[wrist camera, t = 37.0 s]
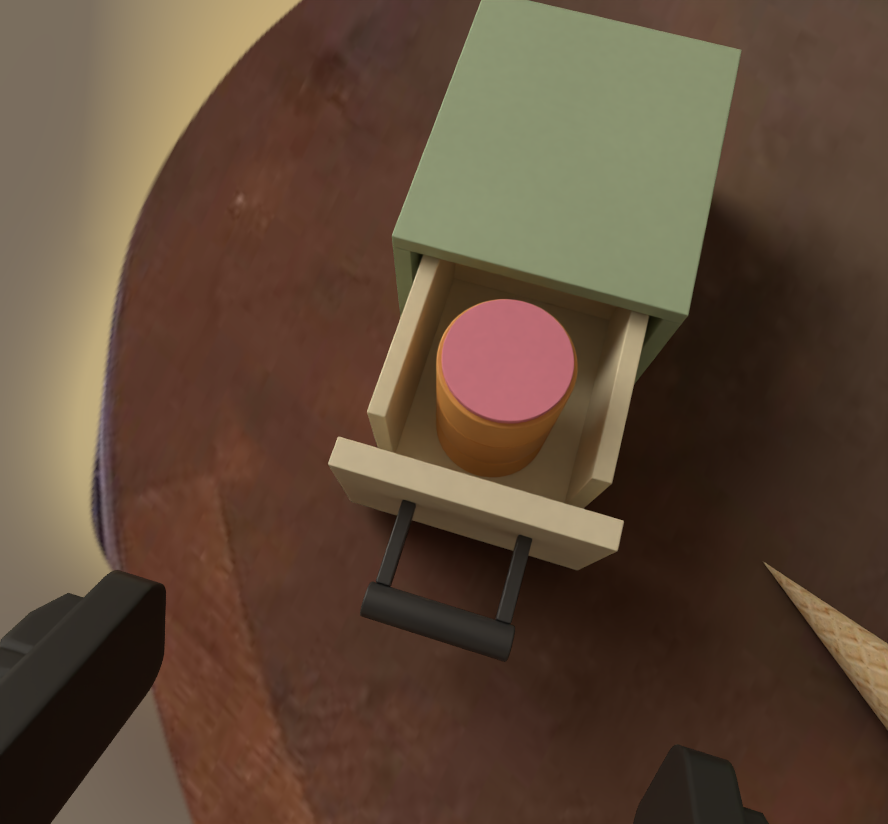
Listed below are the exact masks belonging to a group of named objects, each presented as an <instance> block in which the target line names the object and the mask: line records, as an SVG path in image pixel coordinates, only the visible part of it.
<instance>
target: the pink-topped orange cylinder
mask: <svg viewBox="0 0 888 824" xmlns="http://www.w3.org/2000/svg"><path fill="white" fill-rule="evenodd" d="M577 371H578V363H577V355H576V351H575V347H574V345H573V342H572V340H571V338H570V336H569V335H568V333H567V331H566V330H565V329H564V327H563V326H562V325H561V324H560V323H559V322H558V321H557V319H556V318H554V317H553V316H552V315H551V314H549V313H548V312H546V311H545V310H543V309H541V308H539V307H537V306H535V305H533V304H530V303H527V302H524V301H519V300H512V299H497V300H490V301H486V302H482V303H479V304H477V305H475V306H472V307H471V308H469V309H467V310H465V311H464V312H462V313H461V314H460V315H458V316H457V317H456V318H455V319H454V320H453V321H452V322H451V324H450V325H449V326H448V327H447V329H446V330H445V332H444V334H443V336H442V338H441V340H440V343H439V346H438V350H437V358H436V429H437V435H438V439H439V442H440V444H441V446H442V448H443V450H444V451H445V453H446V454H447V456H448V457H449V458H450V459H451V460H452V461H453V462H454V463H455V464H456V465H457V466H459V467H460V468H462V469H463V470H465V471H467V472H469V473H472V474H475V475H478V476H483V477H502V476H507V475H510V474H513V473H516V472H518V471H520V470H521V469H523V468H524V467H526V466H527V465H528V464H529V463H531V462H532V460H533V459H534V458H535V457H536V456H537V454H538V453H539V451H540V449H541V448H542V446H543V444H544V442H545V440H546V439H547V437H548V435H549V433H550V431H551V430H552V428H553V426H554V424H555V422H556V421H557V419H558V417H559V415H560V413H561V412H562V410H563V408H564V406H565V404H566V403H567V401H568V399H569V397H570V395H571V393H572V391H573V389H574V386H575V383H576V378H577Z"/></svg>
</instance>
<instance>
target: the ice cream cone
mask: <svg viewBox="0 0 888 824" xmlns="http://www.w3.org/2000/svg"><path fill="white" fill-rule="evenodd" d="M763 563H764V564H765V565H766V567H767V568H768V569H769V571H770V572H771V573H772V575H773V576H774V577H775V579H776V580H777V581H778V583H779V584H780V586H781V587H782V588H783V590H784V591H785V592H786V594H787V595H788V596H789V598H790V599H791V600H792V602H793V603H794V604H795V606H796V607H797V609H798V610H799V611H800V613H801V614H802V615H803V617H804V618H805V619H806V621H807V622H808V623H809V625H810V626H811V627H812V629H813V630H814V631H815V633H816V634H817V636H818V637H819V638H820V640H821V641H822V642H823V644H824V645H825V646H826V648H827V649H828V650H829V652H830V653H831V654H832V656H833V657H834V659H835V660H836V661H837V663H838V664H839V665H840V667H841V668H842V669H843V671H844V672H845V673H846V675H847V676H848V677H849V679H850V680H851V682H852V683H853V684H854V686H855V687H856V688H857V690H858V691H859V692H860V694H861V695H862V696H863V698H864V699H865V700H866V702H867V703H868V705H869V706H870V707H871V709H872V710H873V711H874V713H875V714H876V715H877V717H878V718H879V719H880V721H881V722H882V723H883V725H884V726H885V728H886V729H887V730H888V644H887V643H886V642H884V641H883V640H881V639H880V638H878V637H877V636H875V635H874V634H872V633H871V632H869V631H868V630H866V629H864V628H863V627H861V626H860V625H858V624H857V623H855V622H854V621H852V620H851V619H849V618H848V617H846V616H845V615H843V614H842V613H840V612H839V611H837V610H836V609H834V608H833V607H831V606H830V605H828V604H827V603H825V602H824V601H822V600H821V599H819V598H818V597H816V596H815V595H813V594H812V593H810V592H809V591H807V590H805V589H804V588H802V587H801V586H799V585H798V584H796V583H795V582H793V581H792V580H790V579H789V578H787V577H786V576H784V575H783V574H781V573H780V572H778V571H777V570H775V569H774V568H772V567H771V566H769V565H768V564H766V563H765V562H763Z"/></svg>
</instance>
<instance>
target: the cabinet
mask: <svg viewBox="0 0 888 824" xmlns="http://www.w3.org/2000/svg"><path fill="white" fill-rule="evenodd" d="M740 56H741V50H739V49H735V48H730V47H726V46H722V45H718V44H713V43H709V42H705V41H700V40H696V39H692V38H687V37H683V36H679V35H675V34H670V33H666V32H662V31H657V30H653V29H649V28H644V27H640V26H636V25H632V24H627V23H623V22H619V21H614V20H610V19H606V18H601V17H597V16H593V15H589V14H584V13H580V12H576V11H571V10H567V9H563V8H559V7H554V6H550V5H546V4H541V3H537V2H533V1H528V0H481V3H480V5H479V8H478V11H477V13H476V16H475V18H474V21H473V24H472V26H471V29H470V32H469V34H468V37H467V39H466V42H465V45H464V47H463V50H462V53H461V55H460V58H459V61H458V63H457V66H456V68H455V71H454V74H453V76H452V79H451V82H450V84H449V87H448V90H447V92H446V95H445V97H444V100H443V103H442V105H441V108H440V111H439V113H438V116H437V119H436V121H435V124H434V126H433V129H432V132H431V134H430V137H429V140H428V142H427V145H426V147H425V150H424V153H423V155H422V158H421V161H420V163H419V166H418V169H417V171H416V174H415V176H414V179H413V182H412V184H411V187H410V190H409V192H408V195H407V198H406V200H405V203H404V205H403V208H402V211H401V213H400V216H399V219H398V221H397V224H396V226H395V229H394V232H393V234H392V241H393V252H394V261H395V270H396V279H397V288H398V298H399V307H400V316H401V315H402V313H403V310H404V307H405V304H406V302H407V299H408V296H409V293H410V290H411V288H412V285H413V282H414V279H415V276H416V274H417V271H418V268H419V265H420V262H421V260H422V257H423V254H424V255H427V256H431V257H435V258H438V259H442V260H446V261H450V262H453V263H457V264H461V265H464V266H468V267H472V268H476V269H479V270H483V271H487V272H491V273H494V274H498V275H502V276H505V277H509V278H513V279H517V280H520V281H524V282H528V283H531V284H535V285H539V286H543V287H546V288H550V289H554V290H557V291H561V292H565V293H569V294H572V295H576V296H580V297H584V298H587V299H591V300H595V301H598V302H602V303H606V304H610V305H613V306H617V307H621V308H624V309H628V310H632V311H636V312H639V313H643V314H647V315H649V320H648V324H647V329H646V333H645V338H644V342H643V347H642V351H641V356H640V360H639V365H638V369H637V374H636V378H635V383H636V381H637V380H638V379H639V378H640V376H641V375H642V374H643V373H644V371H645V370H646V369H647V367H648V366H649V365H650V364H651V362H652V361H653V360H654V358H655V357H656V356H657V355H658V353H659V352H660V351H661V349H662V348H663V347H664V346H665V344H666V343H667V342H668V340H669V339H670V338H671V337H672V335H673V334H674V333H675V332H676V330H677V329H678V328H679V326H680V325H681V324H682V323H683V321H684V320H685V319H686V318H687V316H688V315H689V310H690V305H691V300H692V295H693V290H694V285H695V280H696V275H697V270H698V265H699V260H700V255H701V250H702V245H703V240H704V235H705V230H706V225H707V220H708V215H709V210H710V205H711V200H712V195H713V190H714V185H715V180H716V176H717V171H718V166H719V161H720V156H721V151H722V146H723V141H724V136H725V131H726V126H727V121H728V116H729V111H730V106H731V101H732V96H733V91H734V86H735V81H736V76H737V71H738V66H739V61H740ZM635 383H634V384H635Z"/></svg>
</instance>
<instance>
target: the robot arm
mask: <svg viewBox="0 0 888 824" xmlns="http://www.w3.org/2000/svg"><path fill="white" fill-rule="evenodd" d="M165 608H166V590H165V587H164V585H163V584H161V583H158V582H155V581H152V580H148V579H145V578H142V577H139V576H136V575H133V574H129V573H126V572H123V571H120V570H115V571H112V572H110V573H109V574H107V576H105V577H104V578H103V579H102V580H101V581H100V582H99V583H98V584H97V585H96V586H95V587H94V588H93V589H92V590H91V591H90V592H89V593H88V594H87V595H86V596H85V597H84V598H83V597H80V596H77V595H73V594H70V593H67V594H65V595H63V596H61V597H59V598H57V599H55V600H53V601H51V602H50V603H48V604H46V605H44V606H42V607H40V608H38V609H36V610H34V611H32V612H30V613H29V614H28V615H27V616H26V617H25V618H24V619H23V620H21V621H20V622H19V623H18V624H17V625H16V626H15V627H14V628H13V629H12V630H10V631H9V632H8V633H7V634H6V635H5V636H4V637H3V638H2V639H1V641H0V824H51V822H52V821H53V819H54V818H55V817H56V815H57V814H58V813H59V811H60V810H61V809H62V807H63V806H64V805H65V803H66V802H67V801H68V799H69V798H70V797H71V795H72V794H73V793H74V791H75V790H76V789H77V787H78V786H79V785H80V783H81V782H82V780H83V779H84V778H85V776H86V775H87V774H88V772H89V771H90V769H91V768H92V767H93V766H94V764H95V763H96V762H97V760H98V759H99V758H100V756H101V755H102V754H103V752H104V751H105V750H106V748H107V747H108V745H109V744H110V743H111V741H112V740H113V739H114V737H115V736H116V735H117V733H118V732H119V731H120V729H121V728H122V727H123V725H124V724H125V723H126V721H127V720H128V718H129V717H130V716H131V715H132V713H133V712H134V710H135V709H136V708H137V706H138V705H139V704H140V702H141V701H142V700H143V698H144V697H145V696H146V694H147V693H148V691H149V690H150V688H151V687H152V685H153V683H154V681H155V679H156V677H157V675H158V672H159V670H160V667H161V664H162V661H163V656H164V644H165ZM633 824H769V823H768V822H767V820H766V818H765V817H764V815H763V813H760V812H757V811H754V810H751V809H748V808H745V807H743V805H742V800H741V796H740V791H739V787H738V782H737V778H736V774H735V770H734V768H733V766H732V764H731V763H730V762H729V761H728V760H725V759H722V758H719V757H716V756H712V755H709V754H706V753H703V752H700V751H697V750H693V749H690V748H687V747H684V746H681V745H674V746H673V747H672V748H671V749H670V751H669V752H668V754H667V756H666V757H665V759H664V761H663V763H662V765H661V766H660V768H659V770H658V772H657V773H656V775H655V777H654V779H653V780H652V782H651V784H650V786H649V788H648V789H647V791H646V793H645V795H644V796H643V798H642V800H641V802H640V804H639V806H638V808H637V811H636V815H635V819H634V823H633Z"/></svg>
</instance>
